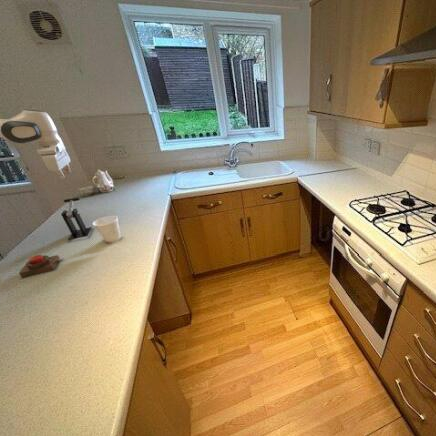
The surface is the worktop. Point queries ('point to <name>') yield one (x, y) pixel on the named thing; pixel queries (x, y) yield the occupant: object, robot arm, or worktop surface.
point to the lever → (69, 213)
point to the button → (36, 259)
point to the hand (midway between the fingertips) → (66, 175)
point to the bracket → (73, 230)
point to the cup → (108, 228)
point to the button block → (40, 266)
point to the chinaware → (99, 184)
